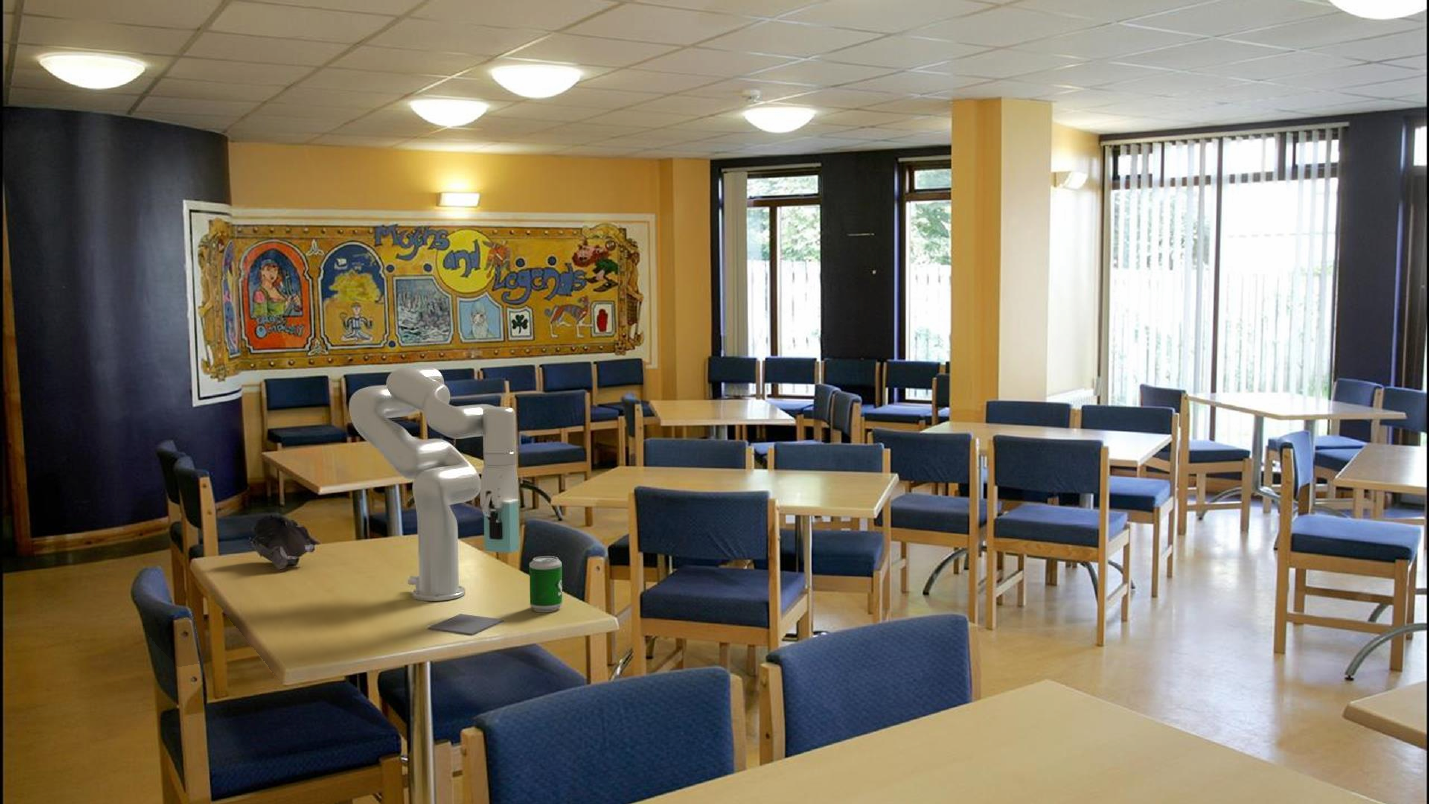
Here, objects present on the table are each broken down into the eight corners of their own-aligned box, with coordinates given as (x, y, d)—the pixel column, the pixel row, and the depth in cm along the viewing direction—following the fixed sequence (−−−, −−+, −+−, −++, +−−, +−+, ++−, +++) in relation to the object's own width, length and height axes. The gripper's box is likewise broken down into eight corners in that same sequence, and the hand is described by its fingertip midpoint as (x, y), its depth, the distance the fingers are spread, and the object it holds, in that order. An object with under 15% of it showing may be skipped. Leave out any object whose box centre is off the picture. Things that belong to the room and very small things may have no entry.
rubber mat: (427, 628, 252) (427, 627, 252) (460, 615, 263) (460, 613, 263) (472, 635, 247) (472, 633, 247) (504, 621, 258) (504, 619, 258)
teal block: (484, 550, 267) (483, 500, 266) (494, 547, 271) (492, 497, 270) (510, 553, 265) (509, 502, 264) (519, 549, 268) (518, 499, 267)
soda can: (555, 614, 264) (555, 563, 263) (525, 612, 266) (524, 561, 265) (566, 605, 272) (566, 556, 271) (536, 603, 273) (536, 554, 272)
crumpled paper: (324, 562, 314) (282, 556, 326) (317, 510, 312) (274, 506, 324) (279, 576, 303) (237, 570, 315) (271, 523, 301) (229, 518, 313)
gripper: (505, 454, 275) (507, 529, 277) (465, 463, 260) (467, 542, 261) (532, 456, 272) (533, 531, 274) (494, 465, 257) (495, 545, 258)
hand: (501, 536), depth 268 cm, fingers closed on teal block, 4 cm apart
